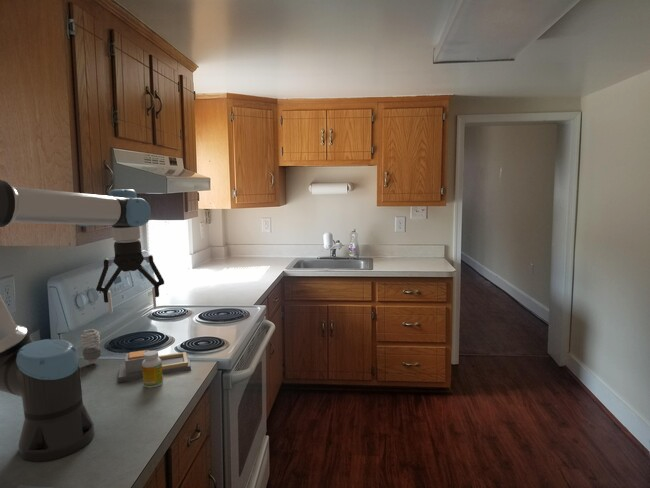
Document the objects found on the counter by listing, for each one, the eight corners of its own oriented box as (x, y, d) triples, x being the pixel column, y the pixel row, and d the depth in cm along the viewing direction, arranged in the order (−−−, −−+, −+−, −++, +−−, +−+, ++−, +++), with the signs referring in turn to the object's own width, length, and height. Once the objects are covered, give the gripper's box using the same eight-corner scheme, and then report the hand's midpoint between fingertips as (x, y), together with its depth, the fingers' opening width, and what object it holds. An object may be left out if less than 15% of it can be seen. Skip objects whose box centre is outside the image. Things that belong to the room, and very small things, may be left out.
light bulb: (106, 360, 153) (102, 326, 151) (96, 367, 147) (92, 332, 146) (90, 360, 153) (86, 326, 152) (79, 367, 148) (75, 332, 146)
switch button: (130, 368, 140) (129, 357, 140) (130, 362, 144) (129, 352, 144) (145, 365, 142) (145, 355, 141) (146, 360, 146) (145, 350, 145)
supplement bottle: (159, 388, 132) (156, 356, 131) (140, 388, 132) (137, 356, 131) (165, 379, 137) (163, 349, 136) (147, 380, 137) (145, 349, 136)
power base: (118, 382, 136) (117, 364, 136) (120, 368, 147) (119, 352, 146) (191, 370, 144) (189, 353, 143) (188, 357, 154) (187, 342, 153)
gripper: (168, 236, 145) (173, 302, 148) (84, 241, 136) (91, 311, 140) (169, 239, 138) (174, 308, 141) (80, 245, 130) (88, 318, 133)
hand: (133, 309), depth 140 cm, fingers open, 12 cm apart
